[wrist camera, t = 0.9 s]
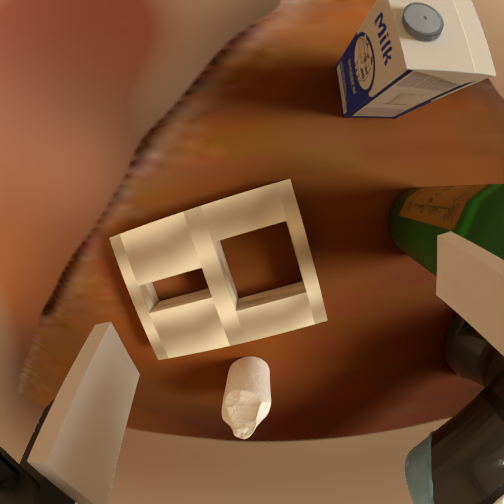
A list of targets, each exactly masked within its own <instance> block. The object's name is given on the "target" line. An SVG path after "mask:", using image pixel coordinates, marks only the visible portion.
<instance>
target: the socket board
mask: <svg viewBox="0 0 504 504" xmlns="http://www.w3.org/2000/svg"><path fill="white" fill-rule="evenodd" d="M284 221H286V223H287V226H288V230H289V233H290V237H291V240H292V244H293V247H294V251H295V255H296V258H297V262H298V266H299V269H300V273H301V277H302V280H303V281H301V282H297V283H294V284H290V285H287V286H283V287H280V288H276V289H272V290H269V291H265V292H261V293H258V294H254V295H250V296H246V297H243V298H239V297H238V294H237V291H236V288H235V285H234V282H233V279H232V276H231V273H230V270H229V267H228V264H227V261H226V258H225V255H224V252H223V249H222V246H221V243H220V240H223V239H226V238H229V237H233V236H236V235H239V234H243V233H246V232H250V231H253V230H256V229H260V228H263V227H267V226H270V225H274V224H277V223H281V222H284ZM109 239H110V242H111V245H112V248H113V251H114V254H115V257H116V259H117V262H118V265H119V268H120V270H121V273H122V276H123V278H124V281H125V284H126V286H127V289H128V291H129V294H130V296H131V299H132V301H133V304H134V306H135V309H136V311H137V313H138V316H139V318H140V321H141V323H142V325H143V327H144V330H145V332H146V334H147V336H148V339H149V341H150V343H151V345H152V347H153V350H154V352H155V354H156V356H157V358H158V360H162V359H167V358H173V357H178V356H183V355H188V354H193V353H198V352H203V351H208V350H213V349H217V348H222V347H227V346H231V345H235V344H240V343H244V342H248V341H252V340H257V339H261V338H265V337H269V336H273V335H276V334H280V333H284V332H288V331H292V330H295V329H299V328H303V327H306V326H310V325H313V324H317V323H320V322H324V321H327V316H326V311H325V307H324V303H323V299H322V295H321V291H320V287H319V283H318V279H317V275H316V271H315V267H314V263H313V259H312V255H311V251H310V248H309V244H308V240H307V236H306V233H305V229H304V225H303V222H302V218H301V215H300V211H299V208H298V204H297V201H296V197H295V194H294V190H293V187H292V183H291V180H290V179H287V180H284V181H280V182H277V183H273V184H270V185H266V186H263V187H259V188H256V189H253V190H249V191H246V192H243V193H240V194H236V195H233V196H230V197H227V198H223V199H220V200H217V201H214V202H211V203H208V204H205V205H201V206H198V207H195V208H192V209H189V210H186V211H183V212H180V213H177V214H174V215H171V216H169V217H166V218H163V219H160V220H157V221H154V222H151V223H148V224H146V225H143V226H140V227H137V228H134V229H132V230H129V231H126V232H123V233H121V234H118V235H116V236H113V237H110V238H109ZM199 268H202V270H203V273H204V276H205V279H206V281H207V284H208V287H209V288H208V289H204V290H200V291H197V292H193V293H189V294H185V295H181V296H178V297H174V298H170V299H166V300H162V301H159V298H158V296H157V293H156V291H155V288H154V286H153V283H152V282H153V281H157V280H160V279H164V278H167V277H171V276H174V275H178V274H181V273H185V272H188V271H192V270H195V269H199Z"/></svg>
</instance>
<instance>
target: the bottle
mask: <svg viewBox="0 0 504 504" xmlns="http://www.w3.org/2000/svg"><path fill="white" fill-rule="evenodd" d="M450 231H451V232H453V233H455V234H457V235H459V236H461V237H463V238H465V239H466V240H468V241H470V242H472V243H474V244H476V245H478V246H479V247H481V248H483V249H485V250H487V251H488V252H490V253H492V254H494V255H496V256H497V257H499V258H501V259H502V260H504V184H487V185H459V186H438V187H420V188H411V189H409V190H407V191H406V192H404V193H403V194H401V195H400V196H398V197H397V199H396V201H395V203H394V205H393V207H392V209H391V211H390V213H389V232H390V235H391V237H392V239H393V241H394V243H395V245H396V247H397V248H399V249H400V250H401V251H403V252H404V253H406V254H407V255H408V256H410V257H411V258H412V259H414V260H415V261H417V262H418V263H419V264H421V265H422V266H423V267H425V268H426V269H427V270H429V271H430V272H431V273H433V274H434V275H435V276H437V236H438V235H441V234H444V233H447V232H450Z"/></svg>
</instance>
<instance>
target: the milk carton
mask: <svg viewBox="0 0 504 504" xmlns="http://www.w3.org/2000/svg"><path fill="white" fill-rule="evenodd" d="M336 69H337V75H338V81H339V88H340V95H341V102H342V109H343V117H344V118H394V119H395V118H397V117H399V116H401V115H404V114H406V113H408V112H410V111H412V110H414V109H417V108H419V107H421V106H423V105H425V104H428V103H430V102H432V101H434V100H437V99H439V98H441V97H443V96H446V95H448V94H450V93H453V92H455V91H457V90H460V89H462V88H464V87H467V86H469V85H472V84H474V83H476V82H479V81H481V80H484V79H486V78H489V77H494V76H496V73H495V69H494V65H493V62H492V58H491V55H490V51H489V48H488V45H487V41H486V38H485V35H484V32H483V29H482V26H481V23H480V21H479V18H478V16H477V13H476V10H475V8H474V5H473V3H472V0H377V1H376V3H375V4H374V6H373V8H372V9H371V11H370V12H369V14H368V16H367V17H366V19H365V20H364V22H363V23H362V25H361V27H360V28H359V30H358V32H357V33H356V35H355V36H354V38H353V40H352V41H351V43H350V44H349V46H348V48H347V49H346V51H345V53H344V54H343V56H342V57H341V59H340V61H339V62H338V64H337V66H336Z"/></svg>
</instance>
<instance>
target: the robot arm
mask: <svg viewBox="0 0 504 504" xmlns="http://www.w3.org/2000/svg"><path fill="white" fill-rule="evenodd" d="M436 295H437V296H438V297H440V298H441V299H442V300H443V301H444V302H445V303H446V304H448V305H449V306H450V307H451V308H452V309H453V310H454V311H456V314H455V316H454V317H453V319H452V321H451V323H450V326H449V328H448V331H447V334H446V338H445V345H444V352H445V358H446V361H447V363H448V365H449V366H450V367H451V368H452V369H453V370H454V372H455V373H456V374H458V375H459V376H461V377H463V378H466V379H470V380H472V381H474V382H476V383H478V384H481V385H483V386H484V387H485V389H484V390H482V391H481V392H480V393H479V394H478V395H477V396H476V397H475V398H474V399H473V400H472V401H471V402H469V403H468V404H467V405H466V406H465V407H464V408H463V409H462V410H460V411H459V412H458V413H457V414H456V415H455V416H453V417H452V418H451V419H450V420H449V421H447V422H446V423H445V424H444V425H442V426H441V427H440V428H439V429H437V430H436V431H435V432H434V431H433V432H431V433H430V434H429V436H428V437H427V438H426V439H425V440H423V441H422V442H421V443H419V444H418V445H417V446H416V447H414V448H413V449H412V450H411V451H410V452H409V453H408V455H407V458H406V461H405V475H406V481H407V485H408V489H409V492H410V495H411V498H412V500H413V503H414V504H504V260H502V259H501V258H499V257H497V256H496V255H494V254H492V253H490V252H488V251H487V250H485V249H483V248H481V247H479V246H478V245H476V244H474V243H472V242H470V241H468V240H466V239H465V238H463V237H461V236H459V235H457V234H455V233H453V232H451V231H450V232H447V233H444V234H441V235H438V236H437V284H436ZM139 376H140V374H139V372H138V370H137V369H136V367H135V365H134V364H133V362H132V360H131V358H130V356H129V355H128V353H127V351H126V349H125V347H124V345H123V344H122V342H121V340H120V338H119V336H118V334H117V332H116V330H115V328H114V326H113V324H112V322H107V323H102V324H97V325H95V326H94V328H93V330H92V331H91V333H90V335H89V337H88V338H87V340H86V342H85V344H84V345H83V347H82V349H81V351H80V353H79V354H78V356H77V358H76V360H75V362H74V364H73V365H72V367H71V369H70V371H69V373H68V375H67V377H66V379H65V381H64V382H63V384H62V386H61V388H60V390H59V392H58V394H57V396H56V398H55V399H54V400H53V401H52V402H51V403H50V404H49V405H48V406H47V407H46V408H45V410H44V412H43V414H42V416H41V418H40V420H39V423H38V424H37V426H36V428H35V432H34V433H33V435H32V437H31V439H30V441H29V443H28V446H27V448H26V450H25V452H24V455H23V457H22V459H21V462H20V464H18V463H17V462H16V461H15V460H14V459H13V458H12V457H11V456H10V455H9V454H8V453H7V452H6V451H5V450H4V449H2V448H1V447H0V504H75V502H76V503H78V504H109V499H110V494H111V489H112V485H113V480H114V475H115V470H116V466H117V461H118V457H119V452H120V448H121V444H122V439H123V436H124V432H125V428H126V424H127V420H128V416H129V412H130V408H131V405H132V401H133V397H134V393H135V390H136V386H137V383H138V379H139Z"/></svg>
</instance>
